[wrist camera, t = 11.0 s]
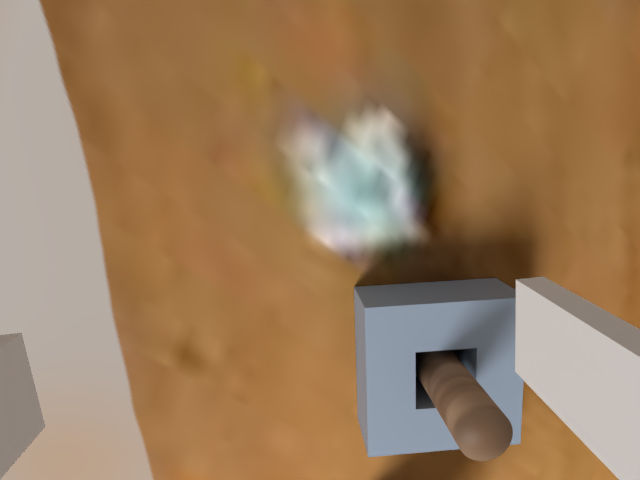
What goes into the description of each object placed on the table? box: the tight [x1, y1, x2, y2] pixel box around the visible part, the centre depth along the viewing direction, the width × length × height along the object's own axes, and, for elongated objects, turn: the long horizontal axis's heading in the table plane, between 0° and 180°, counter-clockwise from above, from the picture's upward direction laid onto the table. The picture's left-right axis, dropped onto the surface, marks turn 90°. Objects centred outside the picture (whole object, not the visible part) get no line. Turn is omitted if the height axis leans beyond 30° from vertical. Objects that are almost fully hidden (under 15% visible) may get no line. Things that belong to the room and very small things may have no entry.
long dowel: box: [416, 350, 513, 461], centre depth 39 cm, size 4×4×14 cm
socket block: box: [354, 278, 524, 457], centre depth 43 cm, size 14×14×6 cm
